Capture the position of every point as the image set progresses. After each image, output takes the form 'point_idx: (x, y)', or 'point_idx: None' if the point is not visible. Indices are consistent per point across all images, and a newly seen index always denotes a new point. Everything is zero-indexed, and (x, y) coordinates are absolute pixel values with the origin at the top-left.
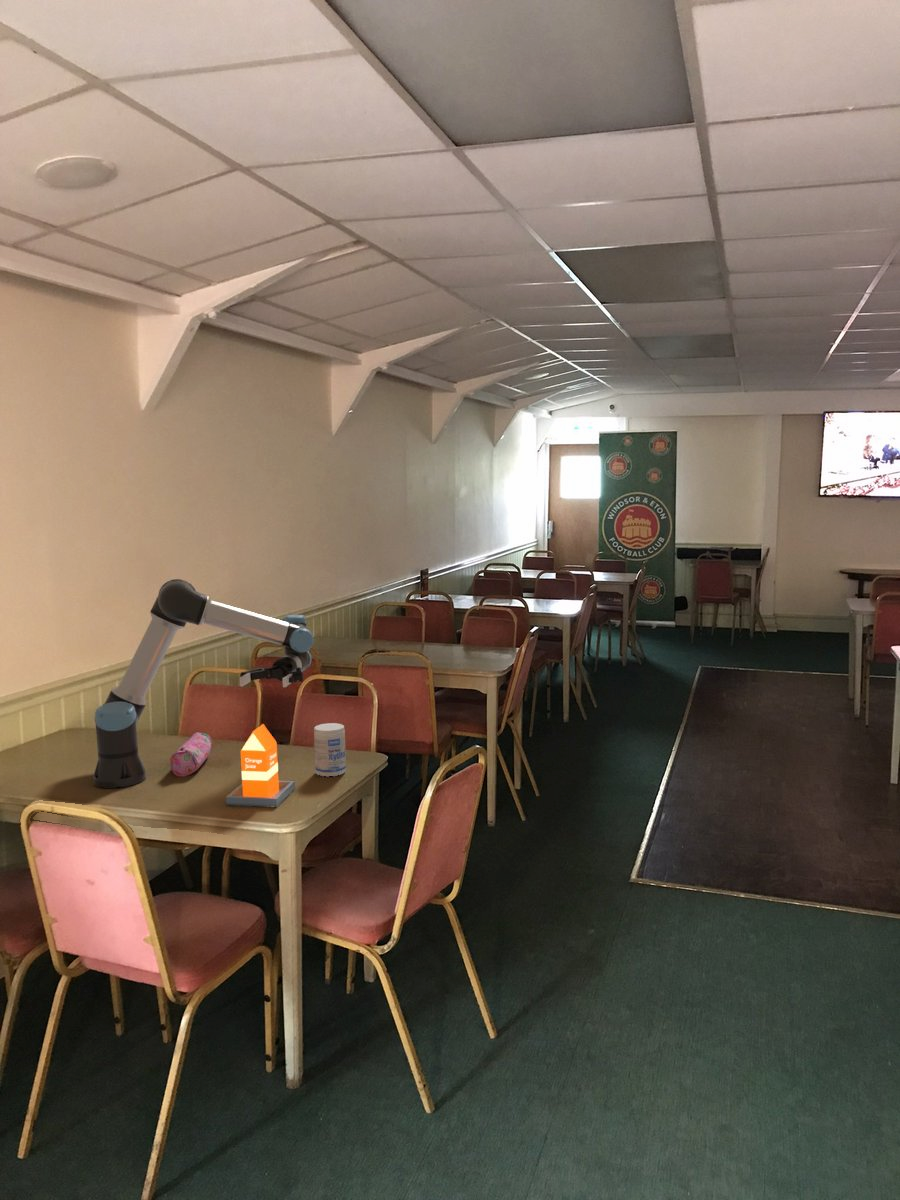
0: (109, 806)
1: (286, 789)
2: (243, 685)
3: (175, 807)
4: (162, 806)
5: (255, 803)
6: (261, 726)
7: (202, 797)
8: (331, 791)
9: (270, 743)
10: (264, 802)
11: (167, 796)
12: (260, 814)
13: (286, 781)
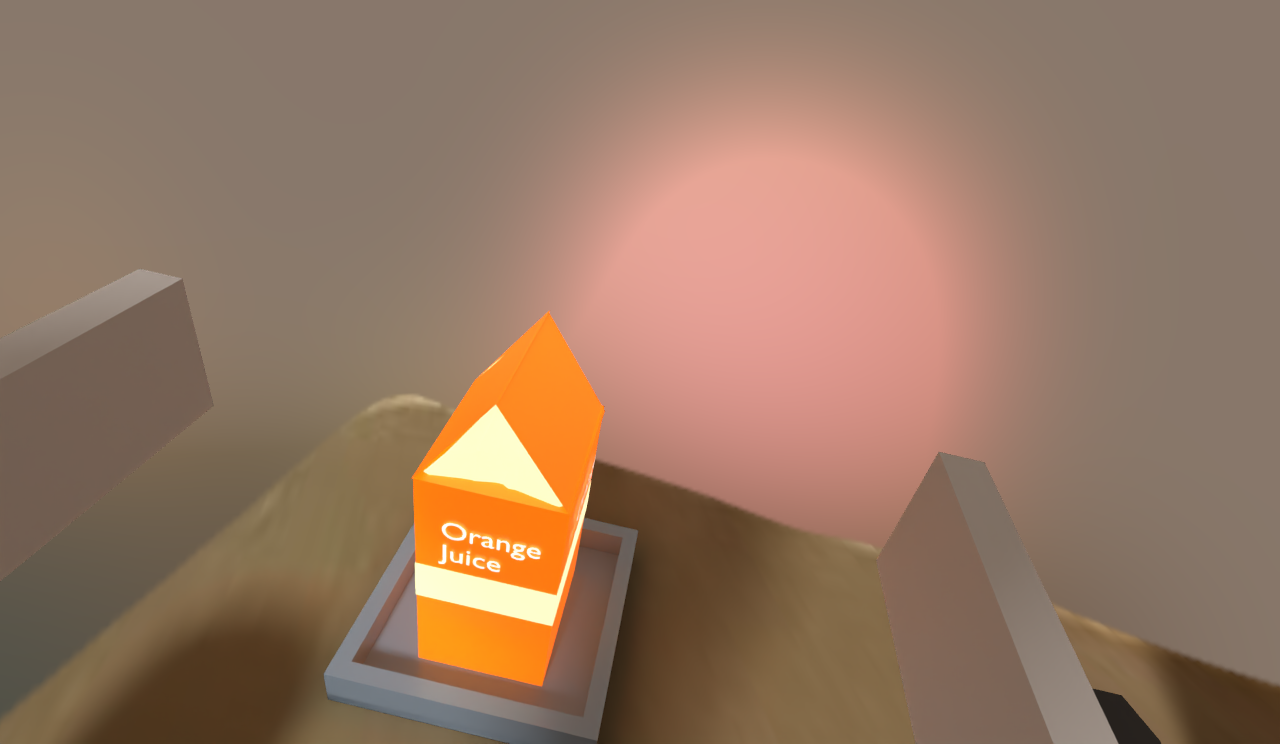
0: None
1: (386, 569)
2: (887, 593)
3: (811, 564)
4: (863, 580)
5: None
6: (507, 381)
7: (761, 651)
8: (140, 645)
9: (452, 421)
10: None
11: None
12: None
13: (371, 675)
